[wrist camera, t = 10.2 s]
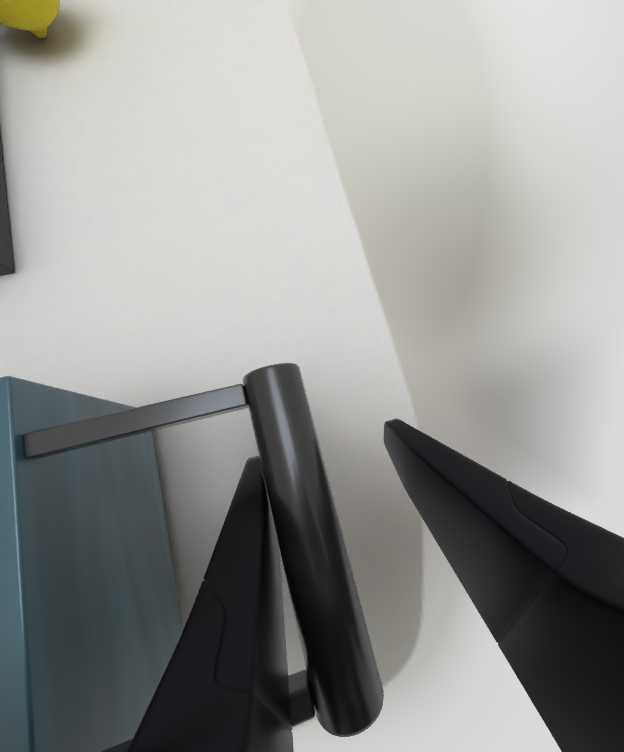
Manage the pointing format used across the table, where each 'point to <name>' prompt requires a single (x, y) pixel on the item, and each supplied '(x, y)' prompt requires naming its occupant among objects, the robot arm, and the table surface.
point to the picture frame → (4, 227)
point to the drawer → (151, 563)
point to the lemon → (29, 14)
